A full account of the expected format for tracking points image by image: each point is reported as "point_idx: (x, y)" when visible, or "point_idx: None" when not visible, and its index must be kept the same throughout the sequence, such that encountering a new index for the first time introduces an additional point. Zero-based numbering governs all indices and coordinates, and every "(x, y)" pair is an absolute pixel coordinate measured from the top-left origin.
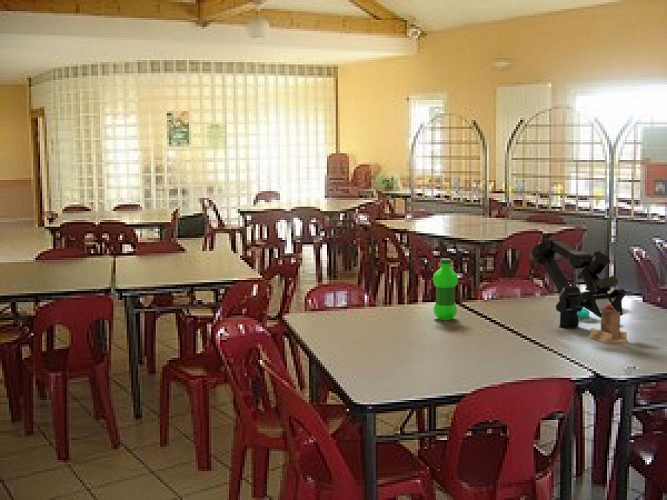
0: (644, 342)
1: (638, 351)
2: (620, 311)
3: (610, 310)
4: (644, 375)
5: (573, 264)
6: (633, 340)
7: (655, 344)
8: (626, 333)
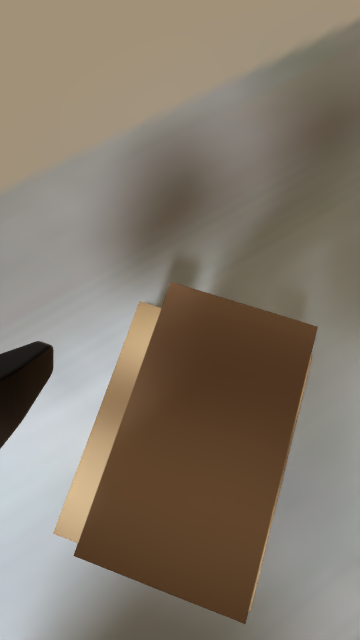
0: (81, 243)
1: (299, 159)
2: (23, 374)
3: (155, 473)
4: None
5: None
6: (80, 311)
7: (81, 182)
8: (143, 303)
